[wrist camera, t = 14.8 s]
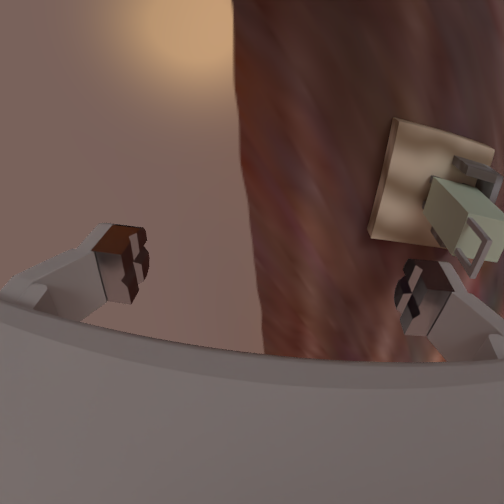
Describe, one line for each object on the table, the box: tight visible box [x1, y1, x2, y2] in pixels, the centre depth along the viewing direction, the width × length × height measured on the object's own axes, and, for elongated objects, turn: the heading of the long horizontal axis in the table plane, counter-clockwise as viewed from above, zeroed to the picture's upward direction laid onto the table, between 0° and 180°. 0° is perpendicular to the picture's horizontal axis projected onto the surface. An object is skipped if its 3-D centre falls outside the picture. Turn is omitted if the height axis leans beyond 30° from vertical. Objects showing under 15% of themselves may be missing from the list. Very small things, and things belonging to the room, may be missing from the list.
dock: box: [367, 117, 504, 249], centre depth 36 cm, size 16×15×6 cm
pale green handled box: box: [422, 175, 504, 279], centre depth 30 cm, size 5×7×15 cm
